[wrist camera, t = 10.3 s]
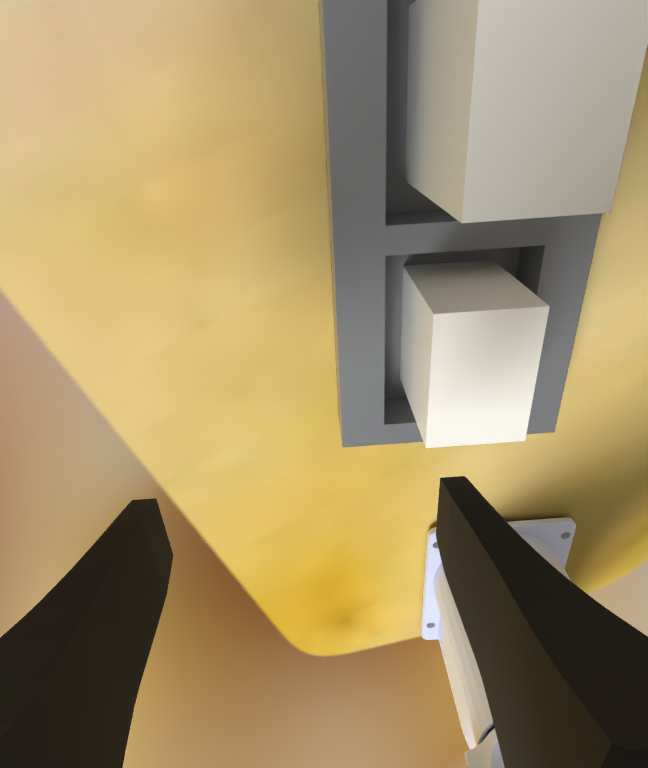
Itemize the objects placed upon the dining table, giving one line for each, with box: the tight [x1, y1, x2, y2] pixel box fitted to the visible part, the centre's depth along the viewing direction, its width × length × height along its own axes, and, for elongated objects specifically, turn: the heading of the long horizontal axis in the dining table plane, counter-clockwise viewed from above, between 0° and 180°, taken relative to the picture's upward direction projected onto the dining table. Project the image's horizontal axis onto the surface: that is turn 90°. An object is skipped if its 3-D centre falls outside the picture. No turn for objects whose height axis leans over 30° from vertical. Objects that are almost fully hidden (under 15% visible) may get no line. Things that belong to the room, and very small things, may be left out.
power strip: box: [319, 0, 602, 448], centre depth 16 cm, size 17×9×6 cm, turn 3°
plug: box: [405, 0, 648, 223], centre depth 13 cm, size 5×4×7 cm
